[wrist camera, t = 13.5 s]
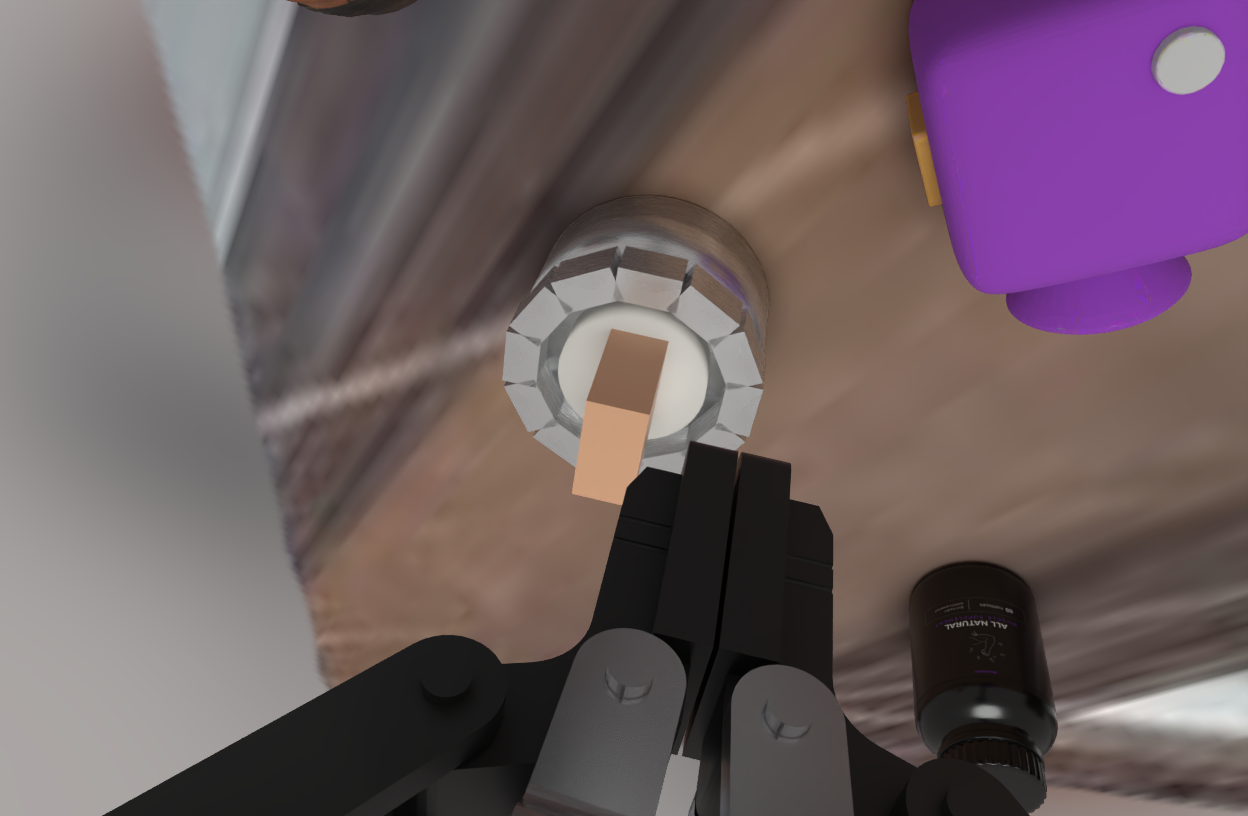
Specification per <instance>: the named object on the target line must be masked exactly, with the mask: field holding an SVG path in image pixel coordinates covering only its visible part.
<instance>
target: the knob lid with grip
mask: <svg viewBox="0 0 1248 816" xmlns="http://www.w3.org/2000/svg"><path fill="white" fill-rule="evenodd" d="M710 367H711V356H710V349H709V346H708V343H707V341H706V340H704V339H703V338H702V337H701V336H699V335H698V334H697V333H696V332H694V331H693V330H692V329H691V328H689V327H688V326H687V325H686V324H684V323H683V322H682V321H681V320H679V319H678V318H677V317H676V316H674V315H673V314H672V313H671V312H667V311H662V310H658V309H653V308H649V307H644V306H640V305H635V304H631V303H627V302H622V301H615V302H611V303H607V304H603V305H599V306H595V307H591V308H587V309H586V310H585V311H584V312H582V313H581V314H580V316H579V317H578V318H577V319H576V321H575V323H574V324H573V326H572V328H571V330H570V333H569V335H568V338H567V340H566V343H565V345H564V347H563V350H562V353H561V355H560V358H559V363H558V378H559V383H560V387H561V390H562V392H563V395H564V397H565V398H566V400H567V402H568V403H569V405H570V406H571V407H572V409H573V410H574V411H575V412H576V413H577V414H578V415H579V416H580V417H581V418H582V419H583V425H582V432H581V438H580V445H579V451H578V458H577V464H576V471H575V477H574V484H573V490H572V494H576V495H580V496H584V497H589V498H593V499H597V500H602V501H606V502H610V503H614V504H619V505H622V504H623V500H624V496H625V492H626V488H627V486H628V485H629V484H630V483H631V482H632V481H633V480H634V479H635V478H636V477H637V476H638V475H639V471H640V467H641V463H642V459H643V455H644V451H645V447H646V443H647V440H649V439H656V438H661V437H665V436H668V435H670V434H673V433H675V432H677V431H679V430H680V429H682V428H683V427H685V426H686V425H688V424H689V423H690V422H691V421H692V420H693V419H694V418H695V416H696V415H697V414H698V412H699V411H700V409H701V407H702V405H703V402H704V399H705V395H706V389H707V384H708V379H709V373H710Z"/></svg>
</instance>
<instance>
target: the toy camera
mask: <svg viewBox="0 0 1248 816" xmlns="http://www.w3.org/2000/svg"><path fill="white" fill-rule="evenodd" d="M909 42H910V50H911V56H912V62H913V67H914V72H915V77H916V83H917V88H918V92H914V93H911V94H908V95H907V96H906V102H907V108H908V114H909V121H910V127H911V133H912V138H913V142H914V146H915V151H916V155H917V159H918V163H919V167H920V171H921V175H922V179H923V183H924V187H925V191H926V195H927V200H928V204H929V206H936V205H939V204H942V205H943V209H944V214H945V218H946V223H947V227H948V231H949V235H950V239H951V243H952V246H953V250H954V253H955V256H956V259H957V261H958V264H959V266H960V268H961V271H962V272H963V274H964V276H965V277H966V279H967V280H968V282H969V283H970V284H971V285H972V286H973V287H974V288H976V289H977V290H979V291H981V292H983V293H987V294H1005V293H1007V295H1006V303H1007V306H1008V309H1009V311H1010V312H1011V314H1012V315H1013V316H1014V317H1015V318H1017V319H1018V320H1019V321H1021V322H1023V323H1024V324H1026V325H1028V326H1031V327H1033V328H1036V329H1039V330H1043V331H1048V332H1053V333H1060V334H1097V333H1106V332H1111V331H1116V330H1120V329H1124V328H1128V327H1131V326H1134V325H1137V324H1140V323H1142V322H1145V321H1147V320H1149V319H1151V318H1153V317H1155V316H1157V315H1159V314H1161V313H1162V312H1164V311H1166V310H1167V309H1169V308H1170V307H1171V306H1173V305H1174V304H1175V303H1176V302H1177V301H1178V300H1179V299H1180V298H1181V297H1182V296H1183V295H1184V294H1185V292H1186V291H1187V289H1188V287H1189V285H1190V282H1191V276H1192V273H1191V268H1190V265H1189V263H1188V261H1187V260H1186V258H1185V257H1184V256H1185V255H1189V254H1193V253H1197V252H1201V251H1204V250H1208V249H1211V248H1215V247H1218V246H1221V245H1224V244H1227V243H1229V242H1232V241H1234V240H1236V239H1238V238H1240V237H1242V236H1243V235H1245V234H1247V233H1248V0H914V2H913V5H912V7H911V10H910V16H909Z"/></svg>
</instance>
